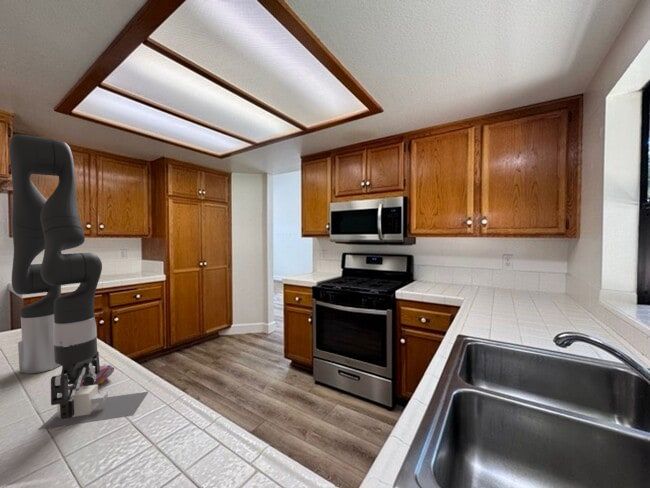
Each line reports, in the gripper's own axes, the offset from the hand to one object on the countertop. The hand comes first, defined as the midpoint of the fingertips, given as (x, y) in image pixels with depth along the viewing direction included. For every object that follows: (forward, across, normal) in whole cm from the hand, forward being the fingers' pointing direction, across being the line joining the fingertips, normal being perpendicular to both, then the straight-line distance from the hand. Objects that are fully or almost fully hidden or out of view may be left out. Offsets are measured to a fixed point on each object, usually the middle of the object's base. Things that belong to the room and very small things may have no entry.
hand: (79, 406), depth 66 cm
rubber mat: (+2, 0, +4) cm, 4 cm away
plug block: (+1, 0, 0) cm, 1 cm away
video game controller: (+2, -12, -3) cm, 13 cm away
